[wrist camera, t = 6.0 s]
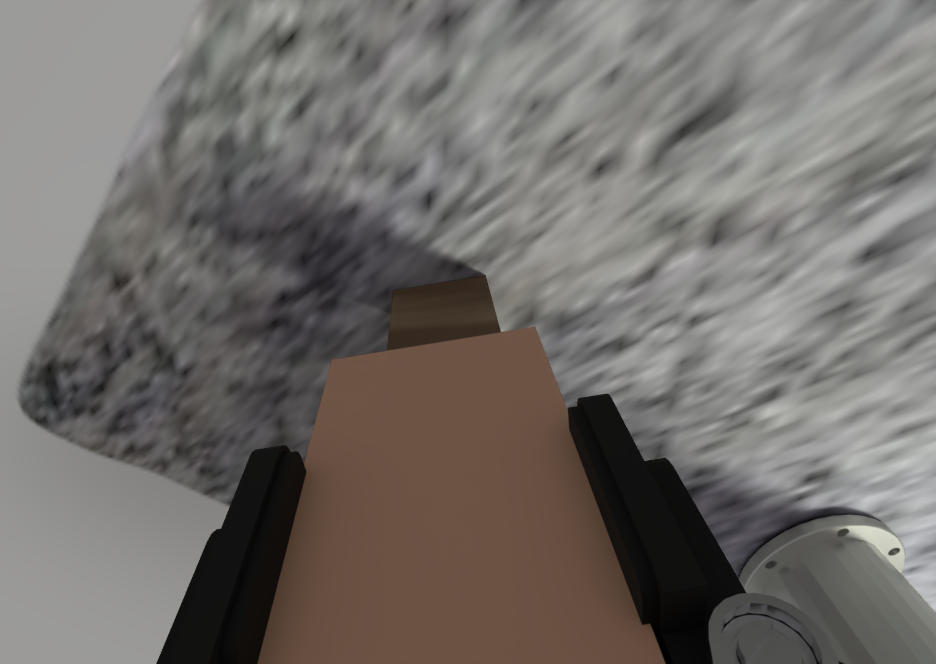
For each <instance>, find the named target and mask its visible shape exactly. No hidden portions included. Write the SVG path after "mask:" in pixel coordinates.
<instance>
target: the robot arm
mask: <svg viewBox="0 0 936 664" xmlns="http://www.w3.org/2000/svg"><path fill="white" fill-rule="evenodd" d="M568 420H569V430H570V433H571V436H572V438H573V441H574V444H575V446H576V449H577V452H578V454H579V457H580V460H581V462H582V465H583V468H584V470H585V473H586V476H587V479H588V481H589V484H590V487H591V489H592V492H593V495H594V497H595V500H596V503H597V505H598V508H599V511H600V513H601V516H602V519H603V521H604V524H605V527H606V529H607V532H608V535H609V538H610V540H611V543H612V546H613V548H614V551H615V554H616V556H617V559H618V562H619V564H620V567H621V570H622V572H623V575H624V578H625V580H626V583H627V586H628V589H629V591H630V594H631V597H632V599H633V602H634V605H635V607H636V610H637V613H638V615H639V618H640V621H641V623H642V625H646V624H650V625H651V627H652V630H653V632H654V635H655V638H656V640H657V643H658V645H659V648H660V650H661V653H662V656H663V658H664V661H665V663H666V664H936V612H935V611H934V610H933V609H932V608H931V606H930V605H929V604H928V603H927V602H926V601H925V600H924V599H923V597H922V596H921V595H920V594H919V593H918V592H917V591H916V590H915V588H914V587H913V586H912V585H911V584H910V583H909V582H908V581H907V579H906V578H905V577H904V576H903V575H902V574H901V572H902V569H903V566H904V563H905V550H904V546H903V543H902V542H901V541H900V539H899V538H898V536H897V535H896V534H895V533H894V532H893V531H892V530H891V529H890V528H889V527H888V526H886V525H885V524H884V523H882V522H880V521H878V520H876V519H873V518H869V517H866V516H859V515H835V516H828V517H823V518H819V519H815V520H812V521H809V522H805V523H802V524H800V525H797V526H795V527H793V528H791V529H789V530H787V531H785V532H783V533H781V534H780V535H778V536H776V537H775V538H773V539H771V540H770V541H769V542H768V543H766V544H765V545H764V546H763V547H761V548H760V549H759V550H758V551H757V552H756V553H755V554H754V555H753V556H752V557H751V558H750V560H749V561H748V563H747V564H746V565H745V567H744V568H743V570H742V572H741V575H740V577H739V579H738V577H737V576H736V574H735V572H734V570H733V569H732V567H731V565H730V564H729V562H728V560H727V558H726V557H725V555H724V553H723V551H722V550H721V548H720V546H719V545H718V543H717V541H716V539H715V538H714V536H713V534H712V532H711V531H710V529H709V527H708V526H707V524H706V522H705V520H704V519H703V517H702V515H701V514H700V512H699V510H698V508H697V507H696V505H695V503H694V501H693V500H692V498H691V496H690V495H689V493H688V491H687V489H686V488H685V486H684V484H683V482H682V481H681V479H680V477H679V476H678V474H677V472H676V470H675V469H674V467H673V466H672V464H671V463H670V461H669V460H667V459H666V458H661V459H655V460H649V461H644V460H643V458H642V456H641V454H640V452H639V450H638V448H637V446H636V444H635V442H634V440H633V439H632V437H631V435H630V433H629V431H628V429H627V427H626V425H625V423H624V421H623V419H622V417H621V415H620V414H619V412H618V410H617V408H616V406H615V404H614V402H613V400H612V398H611V397H610V395H609V394H602V395H595V396H589V397H583V398H579V399H578V402H577V406H576V407H570V408H568ZM306 472H307V471H306V469H305V466H304V463H303V461H302V458H301V456H300V454H299V453H298V452H297V451H295V452H290V450H289V448H288V447H287V446H285V445H282V446H276V447H270V448H264V449H257V450H254V451H253V452H252V453H251V455H250V458H249V460H248V463H247V465H246V468H245V470H244V473H243V475H242V478H241V480H240V483H239V485H238V488H237V490H236V493H235V495H234V498H233V500H232V503H231V505H230V508H229V511H228V513H227V515H226V518H225V520H224V523H223V525H222V528H221V529H217V530H216V531H214V532H213V533H212V534H211V536H210V537H209V539H208V541H207V543H206V546H205V548H204V550H203V553H202V555H201V558H200V560H199V563H198V565H197V567H196V570H195V572H194V574H193V577H192V579H191V582H190V584H189V586H188V589H187V591H186V594H185V596H184V599H183V601H182V603H181V606H180V608H179V610H178V613H177V615H176V618H175V620H174V623H173V625H172V628H171V630H170V632H169V635H168V637H167V640H166V642H165V644H164V647H163V649H162V651H161V654H160V656H159V659H158V661H157V664H258V660H259V656H260V652H261V648H262V644H263V640H264V636H265V632H266V628H267V624H268V621H269V617H270V613H271V609H272V605H273V601H274V597H275V593H276V589H277V585H278V581H279V578H280V574H281V570H282V566H283V562H284V558H285V554H286V550H287V546H288V542H289V538H290V535H291V531H292V527H293V523H294V519H295V515H296V511H297V507H298V503H299V499H300V495H301V492H302V488H303V484H304V480H305V476H306Z"/></svg>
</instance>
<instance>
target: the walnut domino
mask: <svg viewBox="0 0 936 664" xmlns="http://www.w3.org/2000/svg"><path fill="white" fill-rule="evenodd" d="M500 332H501V331H500V327H499V324H498V320H497V316H496V312H495V309H494V305H493V301H492V297H491V294H490V290H489V286H488V283H487V279H486V275H483V276H477V277H471V278H465V279H459V280H453V281H447V282H441V283H435V284H429V285H423V286H417V287H411V288H405V289H399V290H393V297H392V307H391V317H390V326H389V336H388V346H387V351H389V350H395V349H401V348H407V347H413V346H420V345H426V344H432V343H438V342H444V341H451V340H457V339H463V338H469V337H475V336H482V335H488V334H494V333H500Z"/></svg>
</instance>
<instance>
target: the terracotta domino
mask: <svg viewBox="0 0 936 664" xmlns="http://www.w3.org/2000/svg"><path fill="white" fill-rule="evenodd" d="M304 466H305V469H306V471H307V472H306V476H305V480H304V484H303V488H302V492H301V495H300V499H299V503H298V507H297V511H296V515H295V519H294V523H293V527H292V531H291V535H290V538H289V542H288V546H287V550H286V554H285V558H284V562H283V566H282V570H281V574H280V578H279V581H278V585H277V589H276V593H275V597H274V601H273V605H272V609H271V613H270V617H269V621H268V624H267V628H266V632H265V636H264V640H263V644H262V648H261V652H260V656H259V660H258V664H666V663H665V661H664V658H663V656H662V653H661V650H660V648H659V645H658V643H657V640H656V638H655V635H654V632H653V630H652V627H651V625H650V624H646V625H642V623H641V621H640V618H639V615H638V613H637V610H636V607H635V605H634V602H633V599H632V597H631V594H630V591H629V589H628V586H627V583H626V580H625V578H624V575H623V572H622V570H621V567H620V564H619V562H618V559H617V556H616V554H615V551H614V548H613V546H612V543H611V540H610V538H609V535H608V532H607V529H606V527H605V524H604V521H603V519H602V516H601V513H600V511H599V508H598V505H597V503H596V500H595V497H594V495H593V492H592V489H591V487H590V484H589V481H588V479H587V476H586V473H585V470H584V468H583V465H582V462H581V460H580V457H579V454H578V452H577V449H576V446H575V444H574V441H573V438H572V436H571V433H570V430H569V420H568V410H567V408H566V405H565V403H564V400H563V397H562V395H561V392H560V390H559V387H558V385H557V382H556V379H555V377H554V374H553V372H552V369H551V366H550V364H549V361H548V359H547V356H546V354H545V351H544V348H543V346H542V343H541V341H540V338H539V336H538V333H537V330H536V328H535V327H531V328H525V329H519V330H513V331H506V332H500V333H494V334H488V335H482V336H475V337H469V338H463V339H457V340H451V341H444V342H438V343H432V344H426V345H420V346H413V347H407V348H401V349H395V350H389V351H383V352H376V353H370V354H364V355H358V356H352V357H345V358H339V359H333V360H332V361H331V365H330V369H329V372H328V376H327V380H326V384H325V387H324V391H323V395H322V398H321V402H320V406H319V410H318V413H317V417H316V421H315V425H314V428H313V432H312V436H311V440H310V443H309V447H308V451H307V455H306V458H305V462H304Z"/></svg>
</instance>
